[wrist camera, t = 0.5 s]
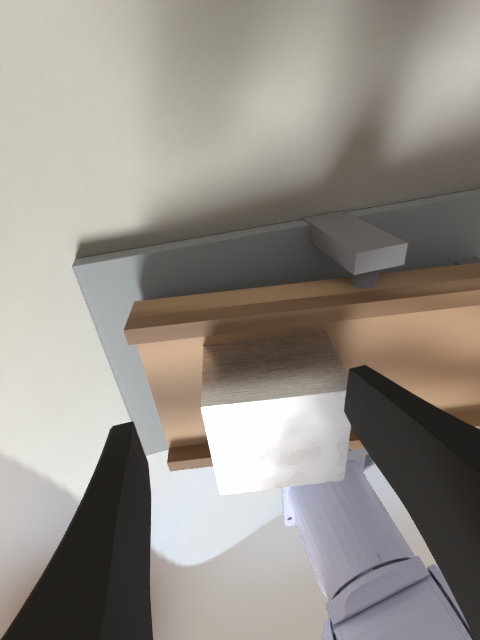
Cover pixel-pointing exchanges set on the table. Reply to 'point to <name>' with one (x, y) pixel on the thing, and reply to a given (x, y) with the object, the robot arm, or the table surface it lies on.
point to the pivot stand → (267, 272)
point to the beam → (310, 317)
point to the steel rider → (275, 412)
